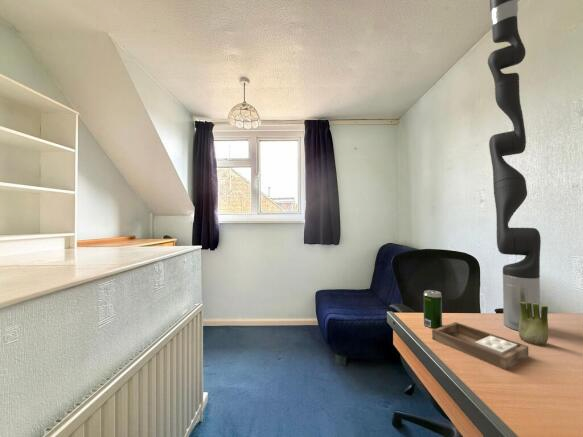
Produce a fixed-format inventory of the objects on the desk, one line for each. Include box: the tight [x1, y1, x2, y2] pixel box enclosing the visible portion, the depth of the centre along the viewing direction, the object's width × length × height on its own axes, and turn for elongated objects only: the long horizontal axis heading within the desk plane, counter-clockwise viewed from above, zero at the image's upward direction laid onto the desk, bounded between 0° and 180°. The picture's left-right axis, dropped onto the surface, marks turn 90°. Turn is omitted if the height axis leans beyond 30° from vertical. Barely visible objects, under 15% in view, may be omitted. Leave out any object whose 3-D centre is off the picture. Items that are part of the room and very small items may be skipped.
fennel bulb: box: [518, 302, 550, 347], centre depth 74 cm, size 6×5×12 cm
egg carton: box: [475, 335, 517, 355], centre depth 67 cm, size 8×6×4 cm
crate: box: [431, 321, 530, 371], centre depth 71 cm, size 12×18×4 cm, turn 28°
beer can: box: [423, 289, 443, 330], centre depth 86 cm, size 5×5×12 cm
